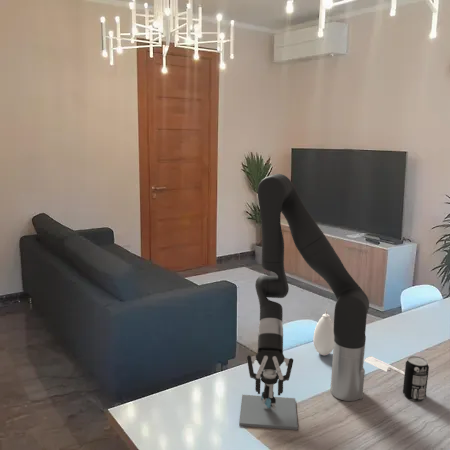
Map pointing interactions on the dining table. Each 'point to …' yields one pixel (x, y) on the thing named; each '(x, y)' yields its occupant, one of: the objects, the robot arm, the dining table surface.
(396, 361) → the dining table surface
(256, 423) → the rubber mat
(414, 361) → the beverage can
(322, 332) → the sauce bottle
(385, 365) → the white plastic strip tool
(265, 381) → the push button
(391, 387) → the dining table surface
